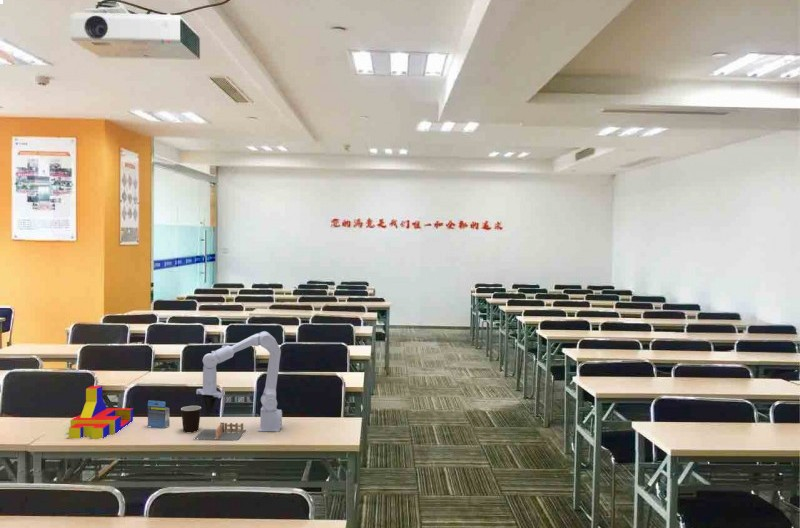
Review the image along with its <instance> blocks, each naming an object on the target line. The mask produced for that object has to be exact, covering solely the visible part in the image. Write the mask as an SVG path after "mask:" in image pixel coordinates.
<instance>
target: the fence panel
mask: <svg viewBox="0 0 800 528" xmlns="http://www.w3.org/2000/svg"><path fill="white" fill-rule="evenodd" d="M222 433H223V424H220V423H219V425H218V427H217V428H216V439H218V438H219V437H220V435H221V434H222Z"/></svg>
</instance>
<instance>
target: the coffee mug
mask: <svg viewBox="0 0 800 528" xmlns="http://www.w3.org/2000/svg"><path fill="white" fill-rule="evenodd" d="M180 413H181V421H182V430H183V432H184V431H185V432H184V433H187V432H191V433H195V432H194V431H196V432H198V431H199V428H200V422H201V420H200V419H201V414H202V407H201V406H199V405H188V406H182V407H181V408H180ZM197 430H198V431H197Z"/></svg>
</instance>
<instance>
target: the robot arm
mask: <svg viewBox="0 0 800 528" xmlns="http://www.w3.org/2000/svg"><path fill="white" fill-rule="evenodd" d="M259 346H260V347H262V348H263V349H264V350H267V352H268V353H269V356H268V363H267V371H266V379H265V387H264V389H263V393H262V395H261V397H260V402H261V407H260V425H259V428H258V429H257V431H258V432H280V430H281V429H282V427H283V410H282V409H278V408H277V406H278V400H277V384H278V375H279V368H280V362H281V361H280V360H281V354H282V350H281V348H280V346H279V344H278V342H277V340H276V338H275V337H274V336H273V335H272V334H270V332H268V331H266V330H264V331H261V332H258V333H254V334H253V335H250V336H249V337H247V338H245V339H243V340H241V341H239V342H237V343H235V344H233V345H228V344H226V345H222V346H221V348H218V349H216V350H212V351H211V353H206V354H204V356H203V358H202V363H203V367H202V388H197V389H196V393H195V394H196V395H203V396H201V397H200V398H201V400H202V402H203V404H204V408H205V410H206V411H205V412H206V414H207V413H208V414H209V413H213V410H214V407H215V404H216V402H217V400H218V399H222V398H224V392H221V391H219V390H217V386H218V385H217V383H218V382H217V381H218V380H217V379H218V378H217V372H218V371H217V365H218V364H221V363H223V362H226V361H227V360H229V359H231V358H233V357H234V355H235V353H237V352H240V351H243V350H244V349H246V348H249V347H259ZM280 428H281V429H280Z"/></svg>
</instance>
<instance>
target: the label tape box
mask: <svg viewBox="0 0 800 528" xmlns="http://www.w3.org/2000/svg"><path fill="white" fill-rule="evenodd" d="M170 424H171V422H170V408H169V407H166V401H163V400H162V401H160V400H148V401H147V427H148V426H151V427H150V428H154V427H167V426H168V427H170V426H169V425H170ZM168 427H167V428H168Z"/></svg>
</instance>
